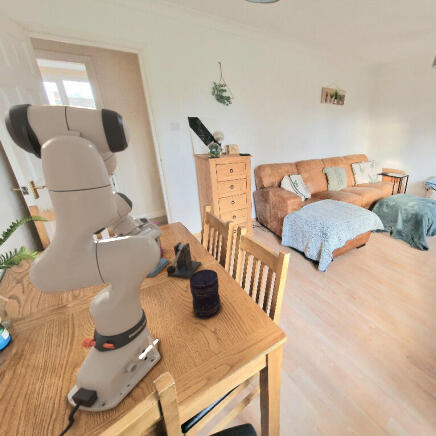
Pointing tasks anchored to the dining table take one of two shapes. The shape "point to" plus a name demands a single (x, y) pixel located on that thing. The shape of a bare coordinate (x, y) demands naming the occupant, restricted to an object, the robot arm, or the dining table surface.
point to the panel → (158, 267)
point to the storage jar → (205, 293)
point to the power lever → (175, 261)
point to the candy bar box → (158, 240)
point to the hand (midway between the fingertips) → (155, 252)
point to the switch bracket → (184, 263)
